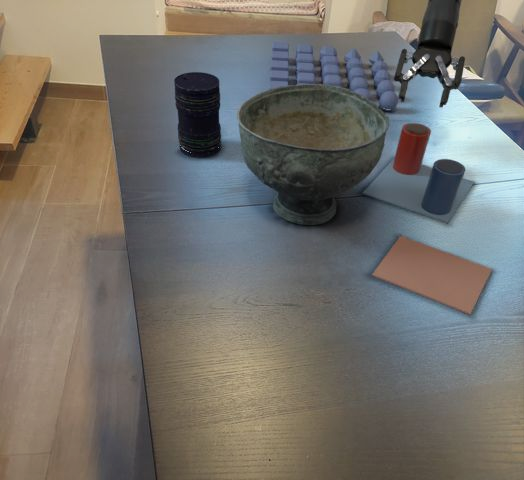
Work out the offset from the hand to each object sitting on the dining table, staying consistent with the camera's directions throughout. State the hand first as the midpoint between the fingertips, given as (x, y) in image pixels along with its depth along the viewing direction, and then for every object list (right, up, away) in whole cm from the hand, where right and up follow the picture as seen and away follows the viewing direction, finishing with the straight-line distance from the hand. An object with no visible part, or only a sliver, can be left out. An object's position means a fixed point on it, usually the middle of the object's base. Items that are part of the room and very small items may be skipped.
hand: (421, 103), depth 113 cm
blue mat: (-1, -19, -1) cm, 19 cm away
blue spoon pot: (+1, -25, -6) cm, 25 cm away
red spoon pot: (-2, -13, +4) cm, 14 cm away
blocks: (-16, +22, +35) cm, 45 cm away
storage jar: (-50, -7, +7) cm, 51 cm away
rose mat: (-4, -41, -20) cm, 46 cm away
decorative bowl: (-27, -26, -8) cm, 38 cm away
